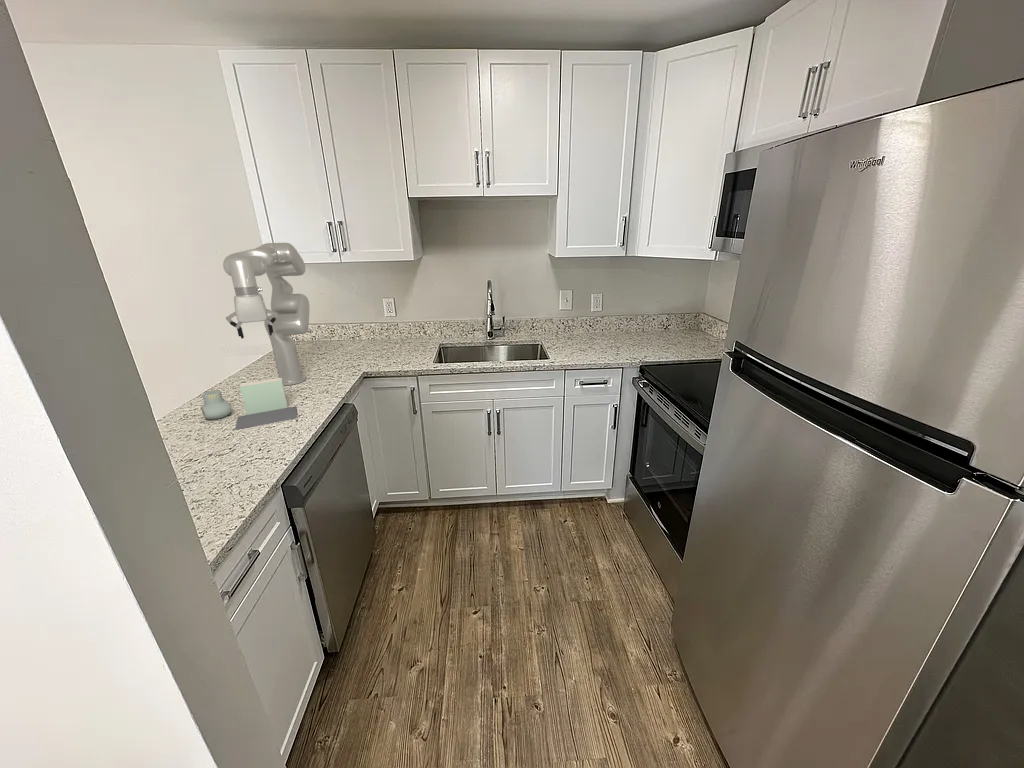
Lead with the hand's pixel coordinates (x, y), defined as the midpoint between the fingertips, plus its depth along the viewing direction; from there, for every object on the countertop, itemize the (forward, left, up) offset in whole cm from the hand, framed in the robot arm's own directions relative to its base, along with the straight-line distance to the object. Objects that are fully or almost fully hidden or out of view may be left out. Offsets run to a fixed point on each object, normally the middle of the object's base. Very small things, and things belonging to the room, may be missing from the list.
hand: (256, 336), depth 164 cm
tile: (+8, -2, -28) cm, 29 cm away
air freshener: (+5, -19, -29) cm, 34 cm away
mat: (+16, -2, -28) cm, 32 cm away
